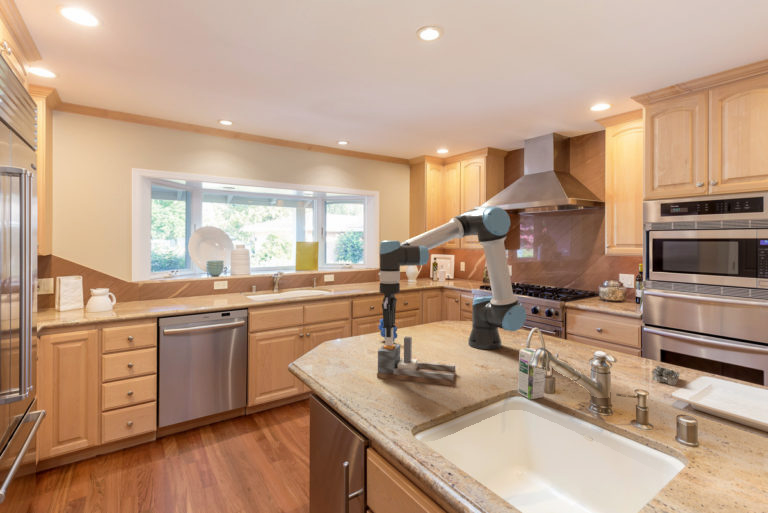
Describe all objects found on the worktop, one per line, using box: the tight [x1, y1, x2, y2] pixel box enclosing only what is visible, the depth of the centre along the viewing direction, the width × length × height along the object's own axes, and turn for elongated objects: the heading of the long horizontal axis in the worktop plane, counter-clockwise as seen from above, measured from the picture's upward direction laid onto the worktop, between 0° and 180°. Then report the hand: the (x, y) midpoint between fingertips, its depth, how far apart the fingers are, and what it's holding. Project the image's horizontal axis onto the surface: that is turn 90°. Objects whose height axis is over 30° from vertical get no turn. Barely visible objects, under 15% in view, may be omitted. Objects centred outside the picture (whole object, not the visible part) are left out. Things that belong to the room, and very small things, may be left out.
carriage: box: [398, 336, 418, 370], centre depth 139 cm, size 6×7×12 cm
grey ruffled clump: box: [651, 365, 681, 386], centre depth 135 cm, size 10×7×4 cm
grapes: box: [378, 318, 398, 343], centre depth 183 cm, size 12×7×12 cm, turn 49°
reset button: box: [383, 345, 395, 349], centre depth 141 cm, size 4×4×3 cm
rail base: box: [376, 343, 457, 386], centre depth 138 cm, size 27×12×10 cm, turn 74°
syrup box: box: [517, 347, 545, 400], centre depth 121 cm, size 6×6×14 cm
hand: (389, 345), depth 141 cm, fingers closed
